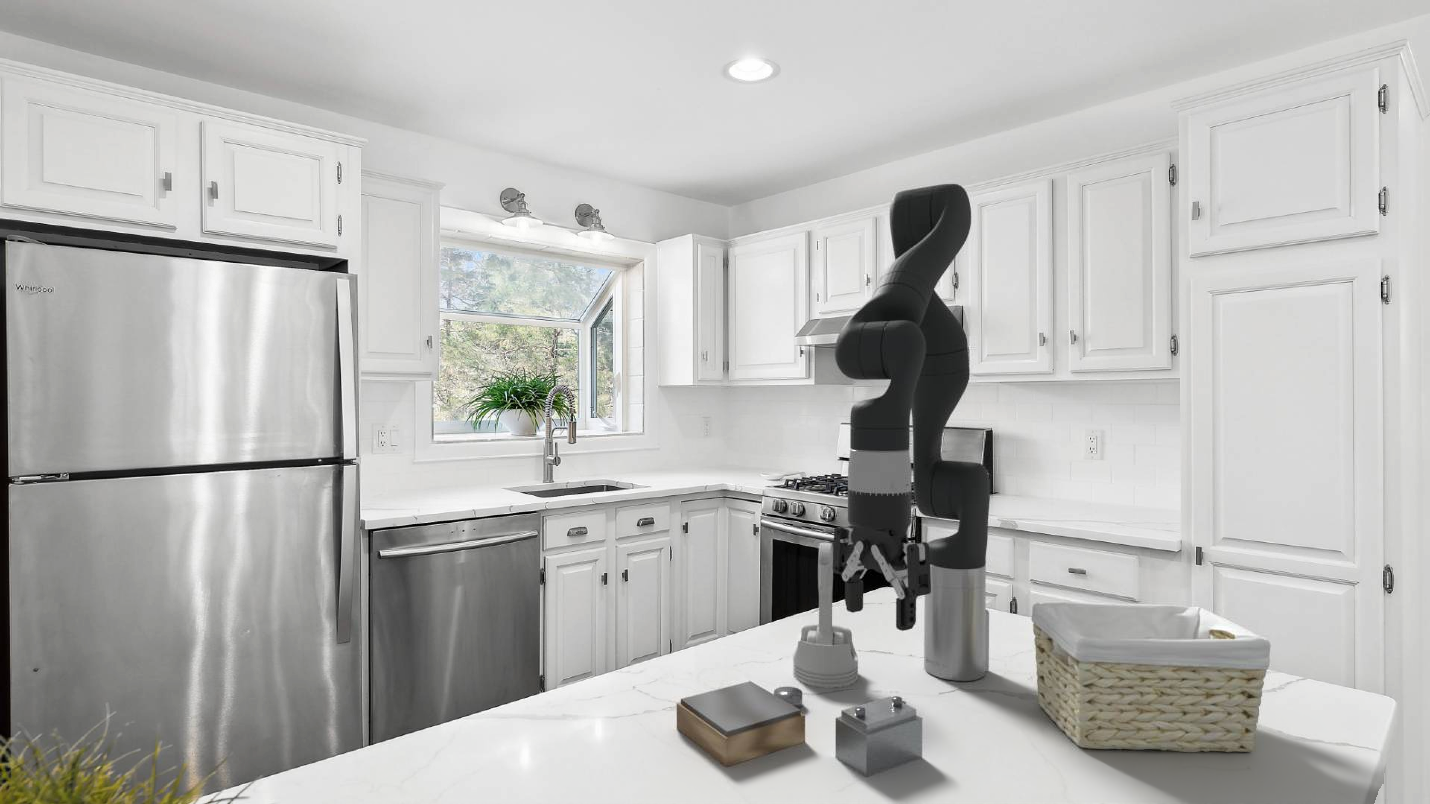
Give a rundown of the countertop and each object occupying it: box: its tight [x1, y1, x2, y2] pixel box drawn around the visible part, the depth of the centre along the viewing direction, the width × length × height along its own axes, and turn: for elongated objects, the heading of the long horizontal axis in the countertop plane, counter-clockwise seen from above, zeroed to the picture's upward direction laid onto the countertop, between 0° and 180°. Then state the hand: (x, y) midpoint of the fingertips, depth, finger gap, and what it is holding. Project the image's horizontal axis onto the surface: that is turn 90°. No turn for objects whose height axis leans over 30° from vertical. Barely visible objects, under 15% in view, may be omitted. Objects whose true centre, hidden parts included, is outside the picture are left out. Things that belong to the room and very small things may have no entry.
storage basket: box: [1031, 602, 1271, 753], centre depth 101 cm, size 24×16×15 cm
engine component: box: [792, 542, 859, 689], centre depth 120 cm, size 11×20×10 cm
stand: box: [676, 680, 806, 768], centre depth 99 cm, size 12×12×4 cm
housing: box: [835, 695, 923, 778], centre depth 93 cm, size 9×6×7 cm, turn 121°
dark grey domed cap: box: [773, 686, 803, 710], centre depth 108 cm, size 4×4×2 cm
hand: (878, 619), depth 93 cm, fingers open, 8 cm apart
